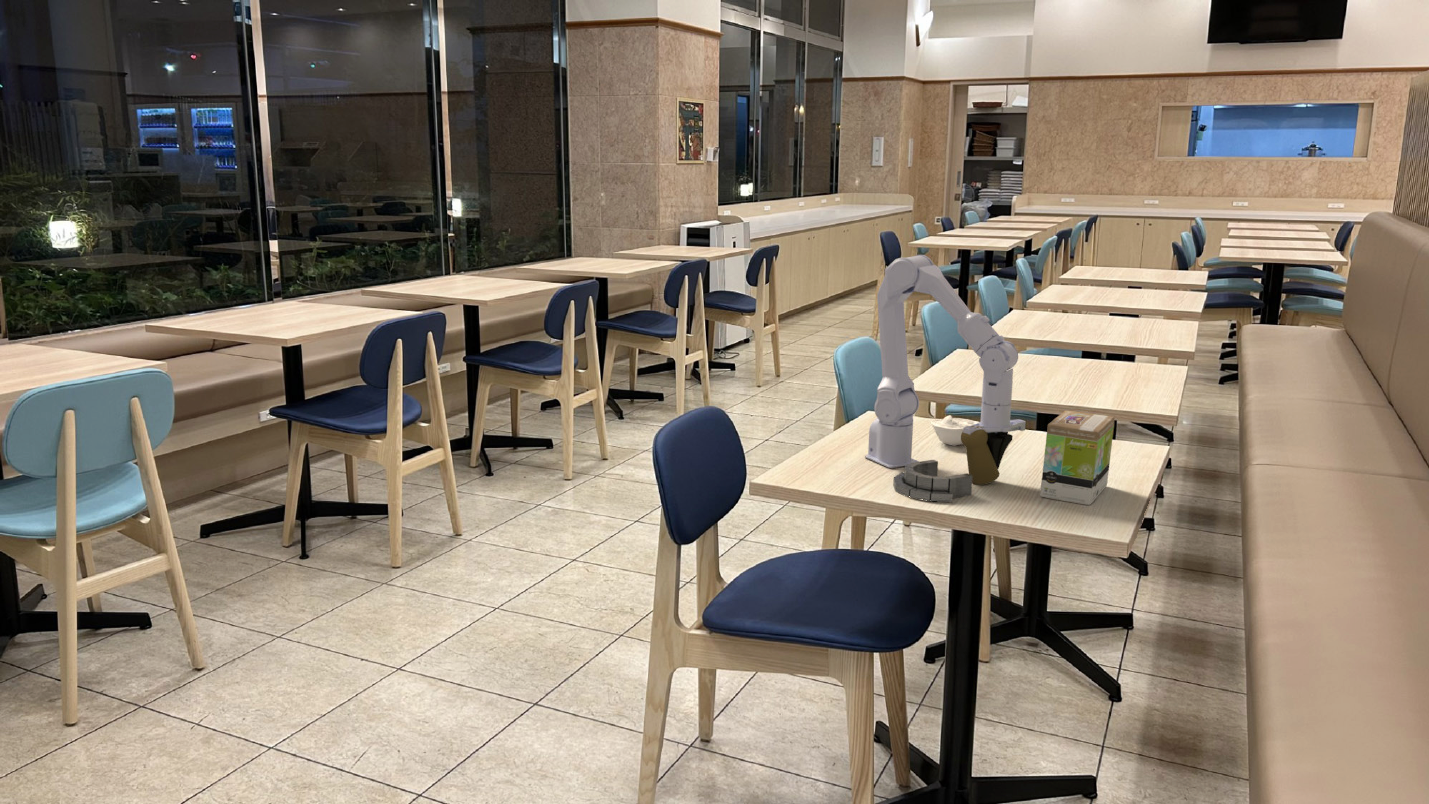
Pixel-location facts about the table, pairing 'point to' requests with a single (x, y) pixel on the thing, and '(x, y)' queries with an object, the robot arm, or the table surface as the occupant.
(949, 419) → the cell model
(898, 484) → the hub collar
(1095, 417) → the tea box
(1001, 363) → the robot arm
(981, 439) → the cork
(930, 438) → the table surface
